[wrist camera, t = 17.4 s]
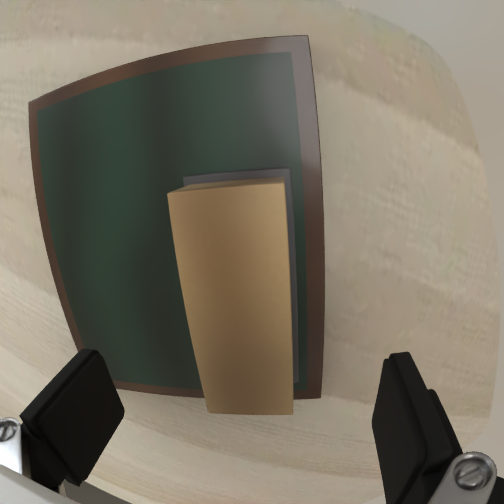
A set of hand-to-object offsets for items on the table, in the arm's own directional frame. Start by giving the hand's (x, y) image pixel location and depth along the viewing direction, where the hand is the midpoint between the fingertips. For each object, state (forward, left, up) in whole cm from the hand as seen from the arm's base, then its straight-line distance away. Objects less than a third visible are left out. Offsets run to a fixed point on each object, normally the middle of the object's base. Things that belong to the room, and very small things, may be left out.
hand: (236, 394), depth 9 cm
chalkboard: (+5, -2, -10) cm, 11 cm away
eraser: (0, 0, -8) cm, 8 cm away
